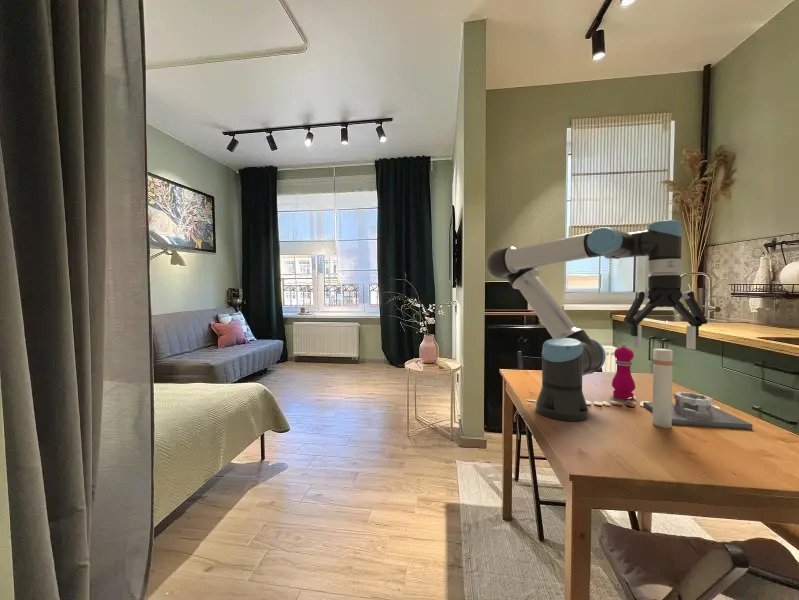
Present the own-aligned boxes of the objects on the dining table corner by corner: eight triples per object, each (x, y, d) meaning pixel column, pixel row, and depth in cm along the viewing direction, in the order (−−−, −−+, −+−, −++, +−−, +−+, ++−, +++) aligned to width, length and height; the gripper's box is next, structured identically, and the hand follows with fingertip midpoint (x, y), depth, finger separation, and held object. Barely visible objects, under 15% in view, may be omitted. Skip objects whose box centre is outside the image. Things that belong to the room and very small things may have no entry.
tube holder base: (671, 424, 98) (671, 402, 98) (643, 406, 114) (643, 387, 114) (752, 429, 94) (752, 406, 94) (711, 410, 110) (711, 390, 110)
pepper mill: (639, 400, 121) (640, 344, 120) (619, 400, 121) (620, 344, 120) (626, 394, 128) (627, 341, 127) (607, 394, 128) (608, 341, 128)
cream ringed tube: (657, 427, 96) (658, 350, 96) (649, 421, 101) (650, 348, 100) (675, 428, 95) (676, 351, 95) (666, 422, 100) (667, 348, 99)
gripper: (622, 274, 96) (622, 349, 96) (724, 273, 91) (723, 351, 91) (611, 276, 103) (611, 345, 104) (705, 275, 98) (704, 347, 99)
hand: (663, 348), depth 97 cm, fingers open, 13 cm apart
